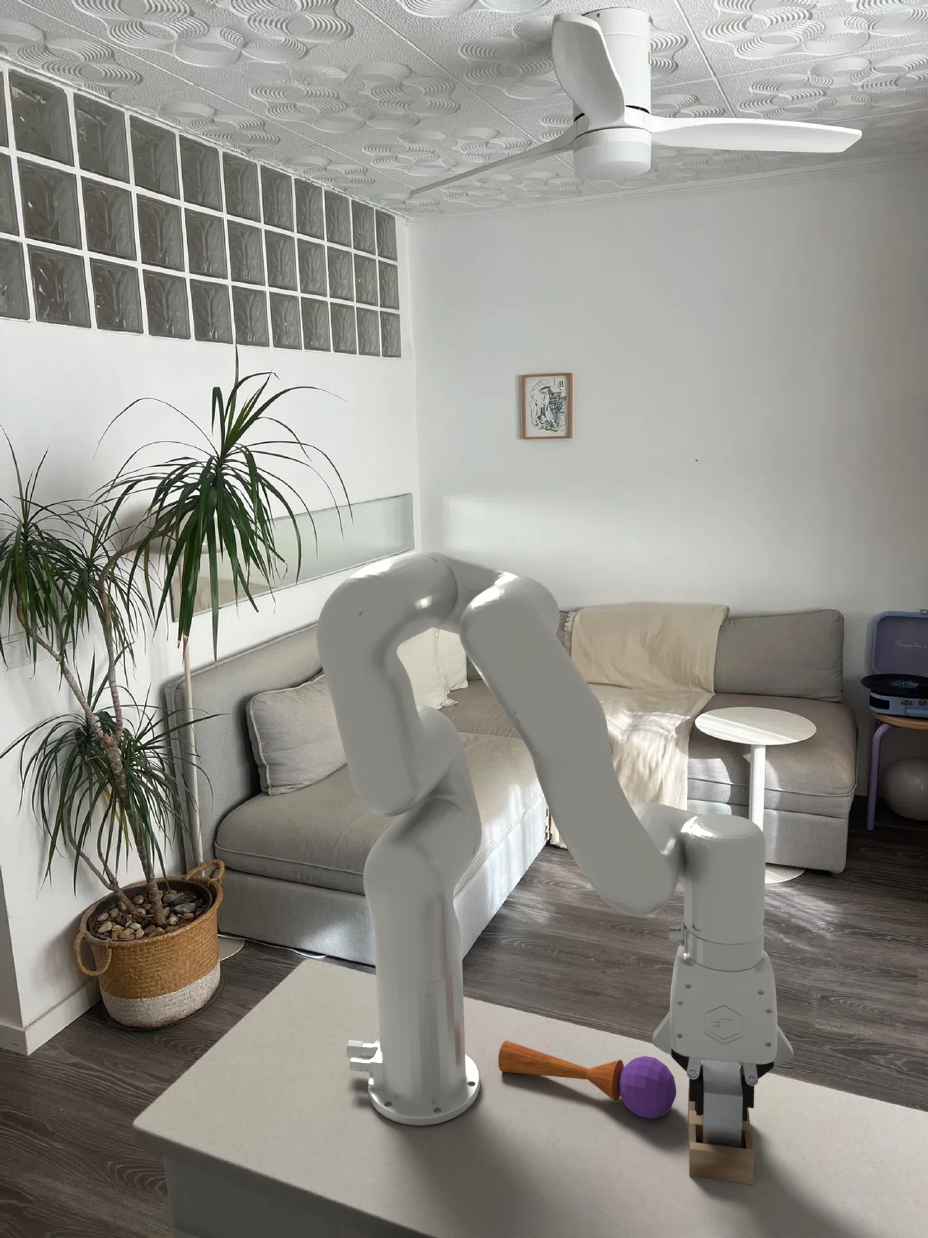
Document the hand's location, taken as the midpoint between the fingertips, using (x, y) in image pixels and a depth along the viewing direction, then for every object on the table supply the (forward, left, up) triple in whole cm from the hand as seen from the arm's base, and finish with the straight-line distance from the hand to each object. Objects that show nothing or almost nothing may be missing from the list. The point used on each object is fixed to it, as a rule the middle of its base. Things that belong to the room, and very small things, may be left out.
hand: (720, 1107), depth 94 cm
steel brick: (0, 0, -3) cm, 3 cm away
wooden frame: (0, 0, -5) cm, 5 cm away
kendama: (-14, +6, -5) cm, 16 cm away
